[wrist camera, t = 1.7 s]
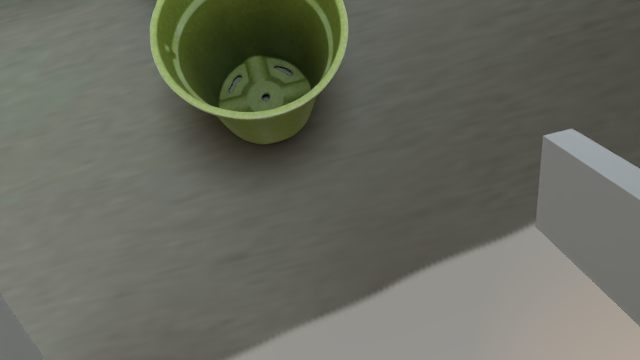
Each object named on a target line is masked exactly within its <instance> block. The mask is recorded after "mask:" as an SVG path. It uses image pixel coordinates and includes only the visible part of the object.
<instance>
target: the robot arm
mask: <svg viewBox="0 0 640 360" xmlns="http://www.w3.org/2000/svg"><path fill="white" fill-rule="evenodd" d="M536 227H537V228H538V229H539V230H540V231H541V232H542V233H543V234H544V235H545V236H546V237H547V238H548V239H549V240H550V241H551V242H552V243H553V244H554V245H556V246H557V247H558V248H559V249H560V250H561V251H562V252H563V253H564V254H565V255H566V256H567V257H568V258H569V259H570V260H571V261H572V262H573V263H574V264H575V265H576V266H578V268H580V269H581V270H582V271H583V272H584V273H585V274H586V275H587V276H588V277H589V278H590V279H591V280H592V281H593V282H594V283H595V284H596V285H597V286H598V287H599V288H600V289H601V290H602V291H604V292H605V293H606V294H607V295H608V296H609V297H610V298H611V299H612V300H613V301H614V302H615V303H616V304H617V305H618V306H619V307H620V308H621V309H622V310H623V311H624V312H625V313H627V314H628V315H629V316H630V317H631V318H632V319H633V320H634V321H635V322H636V323H637V324H638V325H639V326H640V168H638V167H636V166H634V165H633V164H631V163H629V162H628V161H626V160H624V159H623V158H621V157H619V156H618V155H616V154H614V153H612V152H611V151H609V150H607V149H606V148H604V147H602V146H601V145H599V144H597V143H596V142H594V141H592V140H590V139H589V138H587V137H585V136H584V135H582V134H580V133H579V132H577V131H575V130H574V129H568V130H564V131H560V132H556V133H552V134H548V135H544V136H543V143H542V155H541V167H540V179H539V191H538V203H537V215H536ZM42 359H43V356H42V355H41V353H40V352H39V350H38V349H37V347H36V346H35V344H34V343H33V341H32V340H31V338H30V337H29V335H28V334H27V333H26V331H25V330H24V328H23V327H22V325H21V324H20V322H19V321H18V319H17V318H16V316H15V315H14V313H13V312H12V310H11V309H10V307H9V306H8V304H7V303H6V302H5V300H4V299H3V297H2V296H1V294H0V360H42Z"/></svg>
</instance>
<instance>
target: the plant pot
mask: <svg viewBox="0 0 640 360" xmlns="http://www.w3.org/2000/svg"><path fill="white" fill-rule="evenodd" d="M347 41H348V19H347V13H346V9H345V6H344V3H343V0H157V3H156V6H155V9H154V11H153V14H152V18H151V23H150V45H151V51H152V55H153V59H154V62H155V64H156V67H157V69H158V71H159V73H160V74H161V76H162V78H163V79H164V81H165V82H166V83H167V84H168V85H169V87H170V88H171V89H172V90H173V91H174V92H175V93H176V94H177V95H178V96H179V97H181V98H182V99H183V100H184V101H186V102H187V103H188V104H190V105H191V106H193V107H195V108H197V109H199V110H201V111H203V112H206V113H208V114H211V115H214V116H217V117H218V118H219V119H220V120H221V121H222V123H223V124H224V125H225V126H226V127H228V128H229V129H230V130H231V131H232V132H233V133H234V134H235V135H237V136H238V137H240V138H241V139H244V140H246V141H248V142H252V143H257V144H270V143H275V142H279V141H282V140H285V139H288V138H290V137H292V136H294V135H295V134H296V133H297V132H299V131H300V130H301V129H302V128H303V126H304V125H305V124H306V122H307V121H308V119H309V117H310V115H311V112H312V109H313V106H314V103H315V100H316V97H317V96H318V95H319V94H320V93H321V92H322V91H323V90H324V89H325V88H326V87H327V86H328V85H329V83H330V82H331V81H332V79H333V78H334V76H335V75H336V73H337V71H338V69H339V67H340V65H341V63H342V60H343V58H344V54H345V51H346V46H347ZM274 66H275V67H276V66H281V67H284V68H287V69H288V70H290V71H291V72H292V74H293V75H292V76H291V77H290V76H288V75H287V74H285V73H284V72H282V71H280V70H278V69H277V68H276V69H275V68H274ZM239 75H241V76H242V79H241V80H240V81H239V82H238V84H237V85H236V87H235V88H234V91H233V92H232V93H230V91H229V88H230V86H231V85H232V82H233V80H234V79H235V78H236V77H237V76H239ZM264 94H268V95H269V96H270V98H269V100H267V101H264V100H263V99H262V96H263V95H264Z"/></svg>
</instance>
